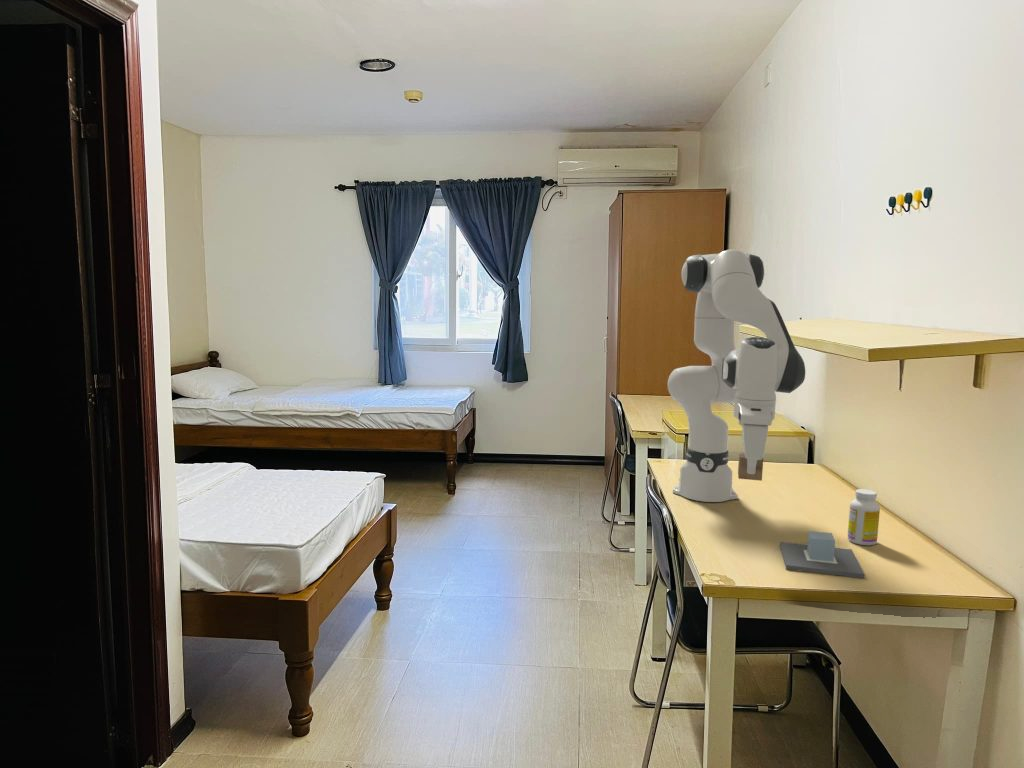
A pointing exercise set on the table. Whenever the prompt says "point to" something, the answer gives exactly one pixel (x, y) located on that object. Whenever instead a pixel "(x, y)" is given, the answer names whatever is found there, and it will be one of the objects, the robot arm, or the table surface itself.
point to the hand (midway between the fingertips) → (750, 469)
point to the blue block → (821, 546)
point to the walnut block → (743, 469)
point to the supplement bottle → (864, 518)
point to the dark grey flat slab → (841, 565)
